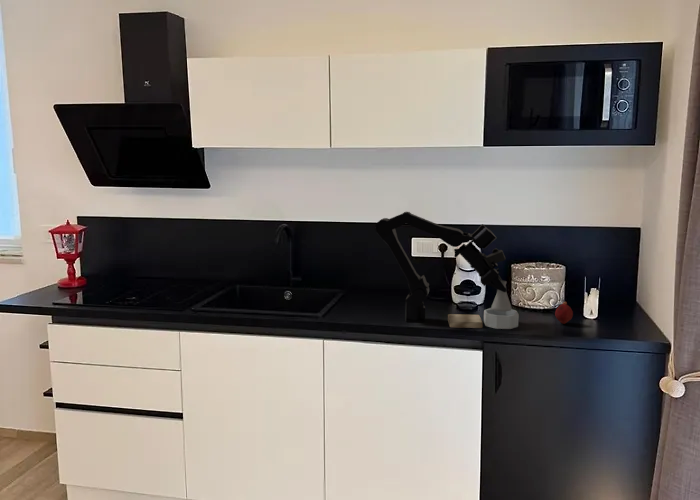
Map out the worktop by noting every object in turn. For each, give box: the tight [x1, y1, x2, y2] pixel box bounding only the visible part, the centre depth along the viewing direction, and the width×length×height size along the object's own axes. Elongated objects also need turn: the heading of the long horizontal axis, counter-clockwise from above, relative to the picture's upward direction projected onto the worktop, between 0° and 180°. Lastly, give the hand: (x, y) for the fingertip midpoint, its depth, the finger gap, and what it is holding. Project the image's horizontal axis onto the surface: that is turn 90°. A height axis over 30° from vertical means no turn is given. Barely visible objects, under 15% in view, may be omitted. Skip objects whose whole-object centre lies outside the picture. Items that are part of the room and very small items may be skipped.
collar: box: [483, 307, 520, 330], centre depth 223 cm, size 11×11×4 cm
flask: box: [490, 280, 513, 311], centre depth 222 cm, size 7×7×10 cm
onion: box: [554, 301, 574, 325], centre depth 223 cm, size 6×6×8 cm
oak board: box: [447, 313, 484, 329], centre depth 224 cm, size 11×10×2 cm
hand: (505, 290), depth 221 cm, fingers closed on flask, 3 cm apart
